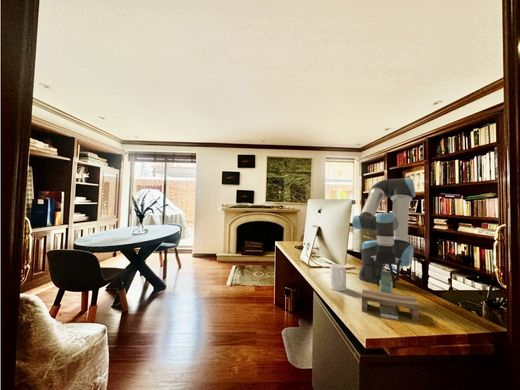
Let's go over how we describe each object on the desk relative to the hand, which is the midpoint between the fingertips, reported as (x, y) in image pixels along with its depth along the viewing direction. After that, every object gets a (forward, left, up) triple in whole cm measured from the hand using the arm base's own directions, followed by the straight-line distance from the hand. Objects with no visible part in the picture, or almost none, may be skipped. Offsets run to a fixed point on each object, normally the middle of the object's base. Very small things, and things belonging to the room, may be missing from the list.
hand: (385, 293), depth 116 cm
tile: (+21, 0, -2) cm, 21 cm away
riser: (+17, 0, -2) cm, 17 cm away
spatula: (+8, 0, -1) cm, 8 cm away
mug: (-2, -22, -2) cm, 22 cm away
